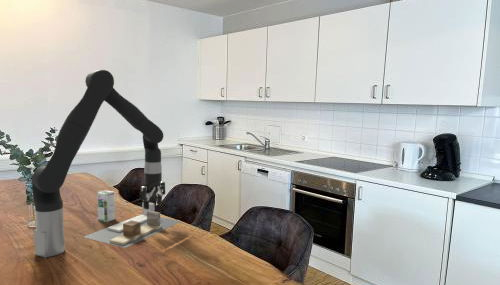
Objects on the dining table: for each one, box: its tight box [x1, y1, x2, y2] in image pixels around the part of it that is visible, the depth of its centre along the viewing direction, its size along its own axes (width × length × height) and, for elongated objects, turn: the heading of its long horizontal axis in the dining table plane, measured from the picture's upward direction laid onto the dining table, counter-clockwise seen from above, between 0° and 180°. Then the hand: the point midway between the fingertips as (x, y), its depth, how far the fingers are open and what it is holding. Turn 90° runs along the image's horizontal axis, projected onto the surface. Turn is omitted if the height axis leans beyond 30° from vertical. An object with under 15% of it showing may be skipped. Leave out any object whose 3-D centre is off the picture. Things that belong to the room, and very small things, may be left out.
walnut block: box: [123, 220, 141, 237], centre depth 156 cm, size 5×5×5 cm
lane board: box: [83, 214, 182, 249], centre depth 167 cm, size 36×24×1 cm, turn 154°
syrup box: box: [96, 190, 116, 223], centre depth 178 cm, size 6×6×14 cm
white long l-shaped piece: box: [108, 201, 156, 232], centre depth 173 cm, size 24×7×7 cm, turn 154°
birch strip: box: [109, 211, 162, 245], centre depth 159 cm, size 24×7×7 cm, turn 154°
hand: (153, 206), depth 167 cm, fingers open, 8 cm apart
